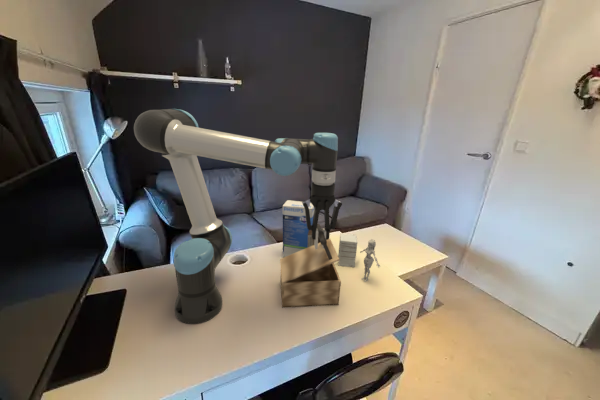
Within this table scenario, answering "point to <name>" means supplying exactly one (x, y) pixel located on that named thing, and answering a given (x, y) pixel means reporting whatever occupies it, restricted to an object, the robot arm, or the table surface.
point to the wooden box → (312, 289)
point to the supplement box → (347, 250)
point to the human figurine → (369, 258)
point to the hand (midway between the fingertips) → (319, 246)
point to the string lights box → (295, 227)
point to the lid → (308, 259)
